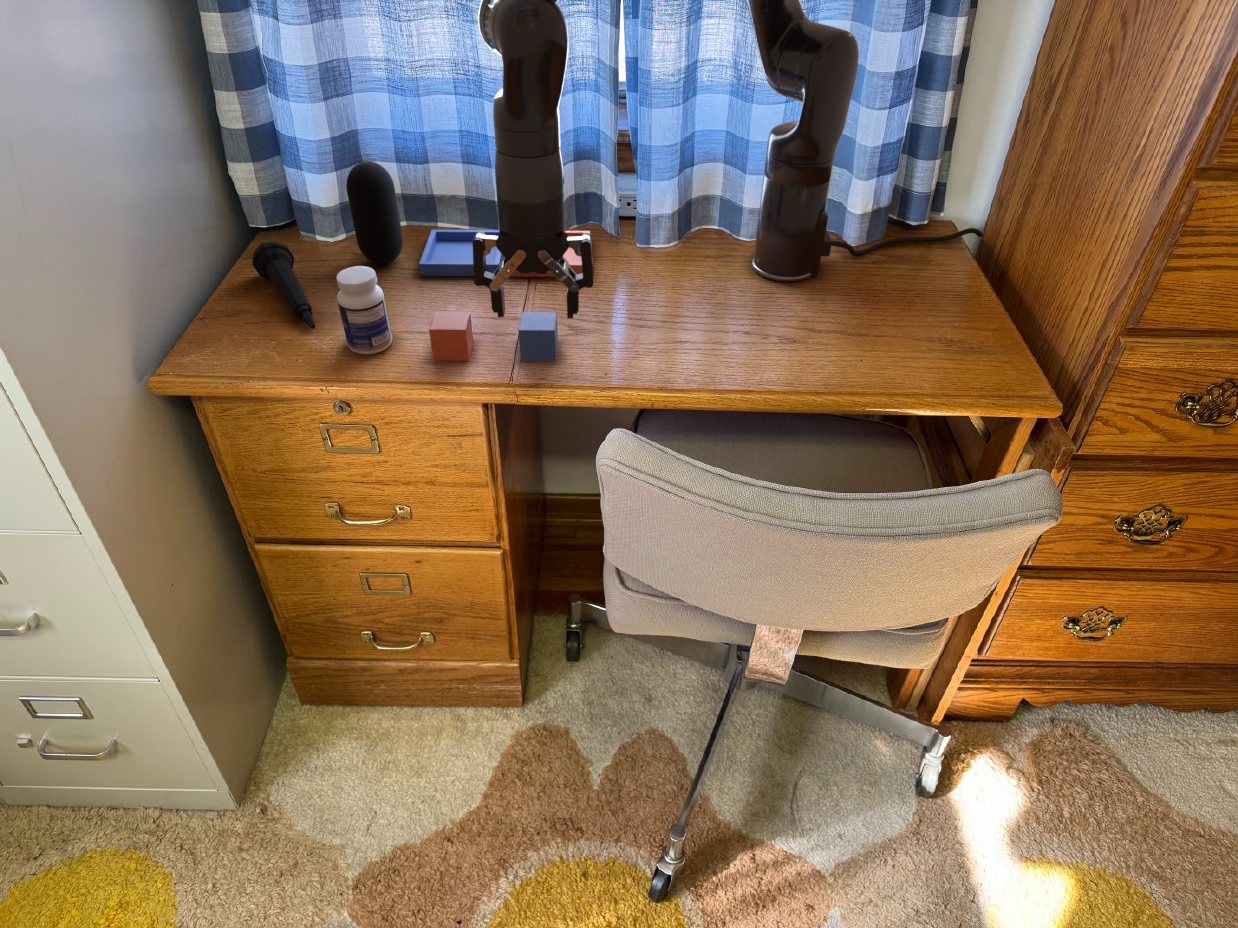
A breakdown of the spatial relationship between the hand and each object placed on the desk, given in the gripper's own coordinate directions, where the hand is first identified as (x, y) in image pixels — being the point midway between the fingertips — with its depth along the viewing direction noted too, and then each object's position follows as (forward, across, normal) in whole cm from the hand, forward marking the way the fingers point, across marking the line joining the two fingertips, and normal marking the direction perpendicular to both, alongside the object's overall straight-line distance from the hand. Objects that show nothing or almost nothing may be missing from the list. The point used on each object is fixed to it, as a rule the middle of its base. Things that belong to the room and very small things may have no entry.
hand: (536, 314), depth 105 cm
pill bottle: (+6, -22, +2) cm, 23 cm away
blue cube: (+6, 0, 0) cm, 6 cm away
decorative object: (+6, -25, +25) cm, 36 cm away
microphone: (+6, -36, +13) cm, 39 cm away
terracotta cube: (+6, -11, 0) cm, 12 cm away
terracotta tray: (+5, 0, +26) cm, 27 cm away
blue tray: (+5, -13, +26) cm, 30 cm away
